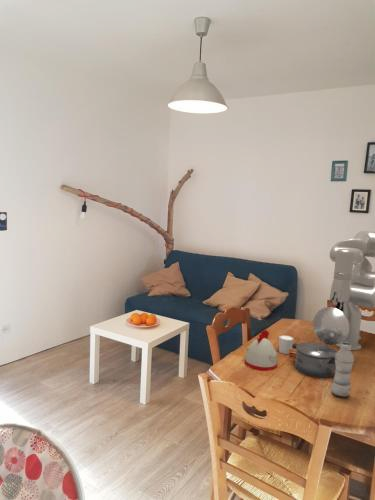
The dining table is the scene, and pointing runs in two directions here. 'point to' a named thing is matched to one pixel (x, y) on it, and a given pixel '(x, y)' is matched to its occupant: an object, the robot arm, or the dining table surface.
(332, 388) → the plastic bottle
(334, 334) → the cooker lid
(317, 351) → the cooker pot
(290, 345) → the white cylinder
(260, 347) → the kitchen timer
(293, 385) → the dining table surface
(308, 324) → the dining table surface
